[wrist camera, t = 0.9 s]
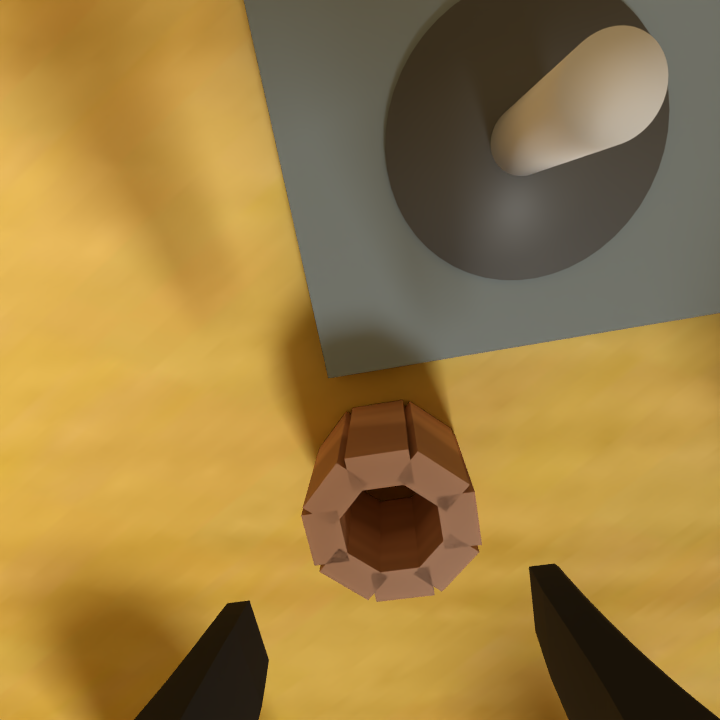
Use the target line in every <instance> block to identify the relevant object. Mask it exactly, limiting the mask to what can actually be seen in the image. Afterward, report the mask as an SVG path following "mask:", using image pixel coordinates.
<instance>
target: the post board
mask: <svg viewBox="0 0 720 720" xmlns="http://www.w3.org/2000/svg"><path fill="white" fill-rule="evenodd" d="M244 3H245V8H246V12H247V17H248V21H249V26H250V30H251V35H252V39H253V44H254V48H255V53H256V57H257V62H258V66H259V70H260V75H261V79H262V84H263V88H264V93H265V97H266V102H267V106H268V111H269V115H270V120H271V124H272V129H273V133H274V137H275V142H276V146H277V151H278V155H279V160H280V164H281V169H282V173H283V178H284V182H285V187H286V191H287V196H288V200H289V204H290V209H291V213H292V218H293V222H294V227H295V231H296V236H297V240H298V245H299V249H300V254H301V258H302V263H303V267H304V271H305V276H306V280H307V285H308V289H309V294H310V298H311V303H312V307H313V312H314V316H315V321H316V325H317V330H318V334H319V338H320V343H321V347H322V352H323V356H324V361H325V365H326V370H327V374H328V378H333V377H339V376H345V375H351V374H357V373H363V372H369V371H375V370H381V369H387V368H393V367H399V366H405V365H411V364H417V363H423V362H429V361H435V360H441V359H447V358H453V357H459V356H465V355H471V354H477V353H483V352H489V351H495V350H501V349H507V348H513V347H519V346H525V345H531V344H537V343H543V342H549V341H555V340H561V339H567V338H573V337H579V336H585V335H591V334H597V333H603V332H608V331H614V330H620V329H626V328H632V327H638V326H644V325H650V324H656V323H662V322H668V321H674V320H680V319H686V318H692V317H698V316H704V315H710V314H716V313H720V0H244Z"/></svg>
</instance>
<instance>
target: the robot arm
mask: <svg viewBox="0 0 720 720" xmlns="http://www.w3.org/2000/svg"><path fill="white" fill-rule="evenodd" d="M529 572H530V582H531V592H532V602H533V611H534V621H535V631H536V634H537V637H538V640H539V643H540V647H541V650H542V653H543V656H544V659H545V662H546V665H547V668H548V671H549V674H550V677H551V679H552V682H553V684H554V686H555V689H556V691H557V693H558V696H559V698H560V700H561V703H562V705H563V707H564V710H565V712H566V714H567V717H568V719H569V720H720V719H719V718H718V717H717V716H716V715H714V714H713V713H712V712H711V711H709V710H708V709H707V708H706V707H704V706H703V705H702V704H701V703H699V702H698V701H697V700H696V699H694V698H693V697H692V696H691V695H690V694H688V693H687V692H686V691H685V690H684V689H682V688H681V687H680V686H679V685H678V684H677V683H675V682H674V681H673V680H672V679H671V678H670V677H668V676H667V675H666V674H665V673H664V672H663V671H662V670H661V669H660V668H658V667H657V666H656V665H655V664H654V663H653V662H652V661H651V660H649V659H648V658H647V657H646V656H645V655H644V654H643V653H642V652H641V651H640V650H639V649H638V648H636V647H635V646H634V645H633V644H632V643H631V642H630V641H629V640H628V639H627V638H626V637H625V636H624V635H623V634H622V633H621V632H620V631H619V630H618V629H617V628H616V627H615V626H614V625H613V624H612V623H611V622H610V621H609V620H608V619H607V618H606V617H605V616H604V615H603V614H602V613H601V612H600V611H599V610H598V609H597V608H596V607H595V606H594V605H593V604H592V603H591V602H590V601H589V600H588V599H587V598H586V597H585V596H584V595H583V593H582V592H581V591H580V590H579V589H578V588H577V587H576V586H575V585H574V584H573V582H572V581H571V580H570V579H569V578H568V577H567V576H566V575H565V573H564V572H563V571H562V570H561V569H560V568H559V567H558V566H557V565H556V564H547V565H539V566H531V567H529ZM268 662H269V659H268V656H267V653H266V650H265V647H264V644H263V641H262V638H261V634H260V631H259V628H258V625H257V622H256V619H255V616H254V613H253V610H252V607H251V604H250V601H242V602H234V603H227V605H226V606H225V607H224V608H223V610H222V611H221V612H220V613H219V615H218V616H217V617H216V619H215V620H214V621H213V622H212V624H211V625H210V626H209V628H208V629H207V630H206V631H205V633H204V634H203V635H202V637H201V638H200V639H199V641H198V642H197V643H196V644H195V646H194V647H193V648H192V650H191V651H190V652H189V654H188V655H187V656H186V657H185V659H184V660H183V661H182V662H181V664H180V665H179V666H178V667H177V669H176V670H175V671H174V672H173V674H172V675H171V676H170V678H169V679H168V680H167V681H166V683H165V684H164V685H163V686H162V687H161V689H160V690H159V691H158V692H157V693H156V694H155V696H154V697H153V698H152V699H151V700H150V701H149V703H148V704H147V705H146V706H145V707H144V709H143V710H142V711H141V712H140V713H139V714H138V716H137V717H136V718H135V719H134V720H258V719H259V715H260V711H261V707H262V701H263V695H264V689H265V683H266V676H267V669H268Z"/></svg>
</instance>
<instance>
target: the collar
mask: <svg viewBox="0 0 720 720" xmlns="http://www.w3.org/2000/svg"><path fill="white" fill-rule="evenodd" d="M399 485H405V486H407V487H408V488H410V489H411V490H413V491H415V492H416V493H415V494H414V495H413V496H412V497H410V498H403V499H396V500H388V501H381V502H380V501H379V500H377V499H376V498H374V497H372V496H371V495H369V494H367V493H366V492H364V491H363V490H370V489H377V488H384V487H391V486H399ZM301 516H302V520H303V524H304V528H305V531H306V535H307V539H308V543H309V546H310V550H311V554H312V558H313V561H314V565H321V567H320V572H321V573H323V574H324V575H326V576H328V577H330V578H331V579H333V580H335V581H336V582H338V583H340V584H342V585H343V586H345V587H347V588H348V589H350V590H352V591H354V592H355V593H357V594H359V595H360V596H362V597H364V598H366V599H367V600H369V599H370V597H371V596H372V595H373V594H374V593H375V597H376V601H377V602H379V601H387V600H396V599H405V598H413V597H422V596H431V595H434V588H433V586H434V587H435V588H437V589H439V590H440V591H443V590H444V589H445V588H446V587H447V586H448V585H449V584H450V583H451V582H452V580H453V579H454V578H455V577H456V576H457V575H458V574H459V573H460V572H461V571H462V570H463V569H464V568H465V567H466V566H467V565H468V564H469V562H470V561H471V560H472V559H473V558H474V557H475V556H476V555H477V554H478V553H479V549H478V546H477V545H482V542H481V535H480V528H479V520H478V513H477V505H476V498H475V491H474V489H473V486H472V483H471V480H470V477H469V474H468V471H467V468H466V465H465V463H464V460H463V457H462V454H461V451H460V448H459V445H458V442H457V439H456V437H455V434H453V433H452V430H451V428H450V427H448V426H446V425H445V424H443V423H442V422H440V421H439V420H437V419H436V418H434V417H433V416H431V415H430V414H428V413H427V412H425V411H424V410H422V409H421V408H419V407H418V406H416V405H415V404H413V403H412V402H409V403H408V405H407V406H406V407H405V409H404V405H403V400H399V401H393V402H386V403H380V404H374V405H368V406H361V407H355V408H352V415H351V414H349V413H348V412H346V413H345V414H344V416H343V417H342V418H341V420H340V421H339V422H338V424H337V425H336V426H335V428H334V429H333V431H332V432H331V433H330V435H329V436H328V437H327V439H326V440H325V441H324V443H323V444H322V446H321V447H320V448H319V452H318V455H317V459H316V462H315V466H314V469H313V473H312V477H311V480H310V484H309V487H308V491H307V494H306V498H305V502H304V505H303V511H302V515H301Z"/></svg>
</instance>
